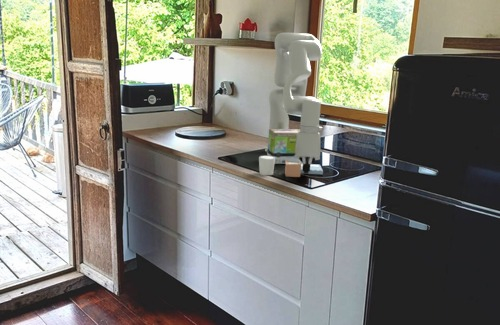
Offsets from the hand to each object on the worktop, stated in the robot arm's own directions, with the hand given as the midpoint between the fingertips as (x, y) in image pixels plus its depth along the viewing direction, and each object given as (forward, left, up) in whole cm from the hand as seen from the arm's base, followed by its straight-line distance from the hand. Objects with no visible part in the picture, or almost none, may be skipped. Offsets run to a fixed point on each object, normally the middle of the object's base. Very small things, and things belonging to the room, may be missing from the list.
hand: (305, 172), depth 192 cm
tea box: (-22, -7, -2) cm, 24 cm away
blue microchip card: (-8, +1, -1) cm, 9 cm away
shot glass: (0, -16, -2) cm, 17 cm away
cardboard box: (0, -5, -1) cm, 6 cm away
